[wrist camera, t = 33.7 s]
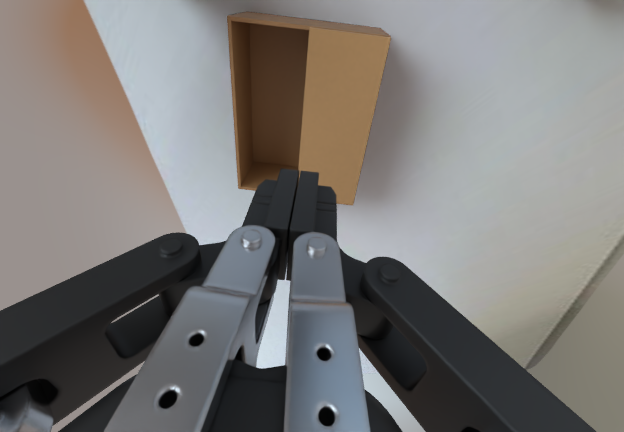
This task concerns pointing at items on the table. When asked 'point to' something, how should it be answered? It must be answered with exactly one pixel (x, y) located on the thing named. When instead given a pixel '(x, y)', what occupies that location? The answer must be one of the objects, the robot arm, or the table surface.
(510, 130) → the table surface
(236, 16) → the carton
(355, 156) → the flap
